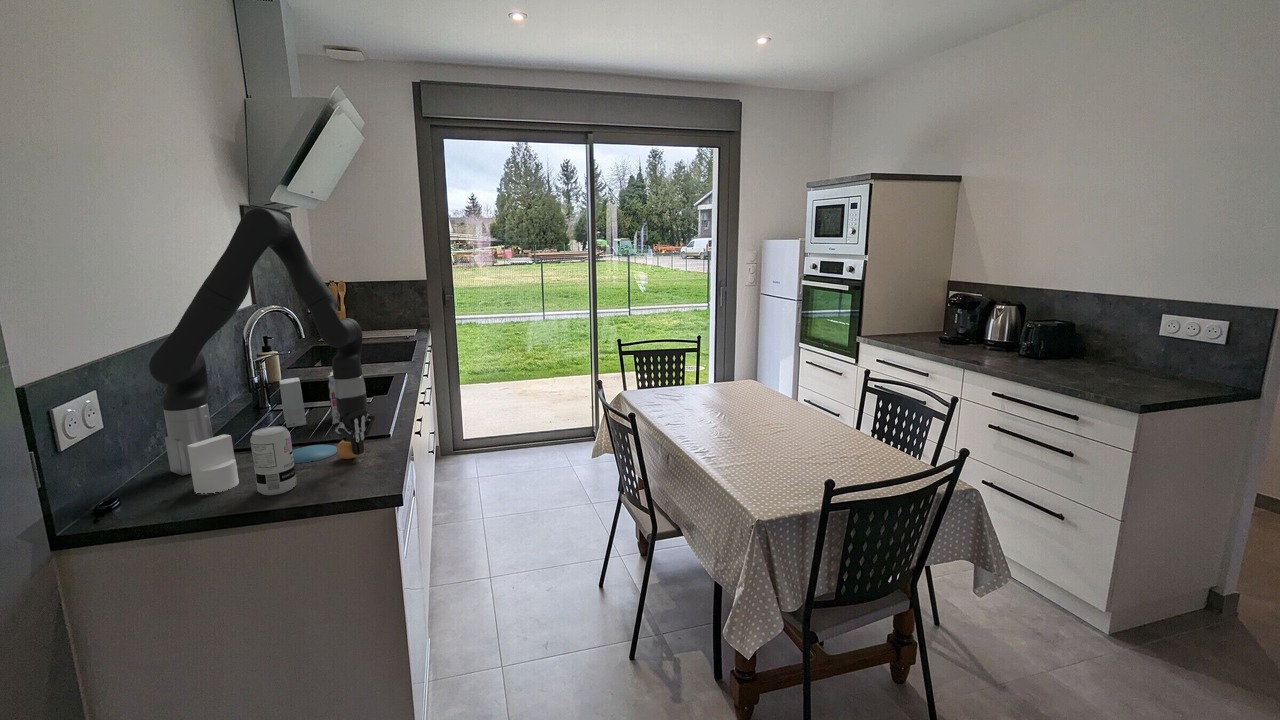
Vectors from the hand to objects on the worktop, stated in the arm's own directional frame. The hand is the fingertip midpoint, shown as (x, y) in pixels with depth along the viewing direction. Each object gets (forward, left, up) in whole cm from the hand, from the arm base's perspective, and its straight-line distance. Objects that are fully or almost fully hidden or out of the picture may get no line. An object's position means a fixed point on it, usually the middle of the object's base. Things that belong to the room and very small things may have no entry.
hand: (358, 453), depth 161 cm
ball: (0, +4, +1) cm, 4 cm away
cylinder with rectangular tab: (-28, +16, -2) cm, 32 cm away
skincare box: (+12, +48, -2) cm, 50 cm away
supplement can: (-22, +1, -2) cm, 22 cm away
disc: (-3, +17, -2) cm, 17 cm away
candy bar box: (+22, +38, -2) cm, 44 cm away
